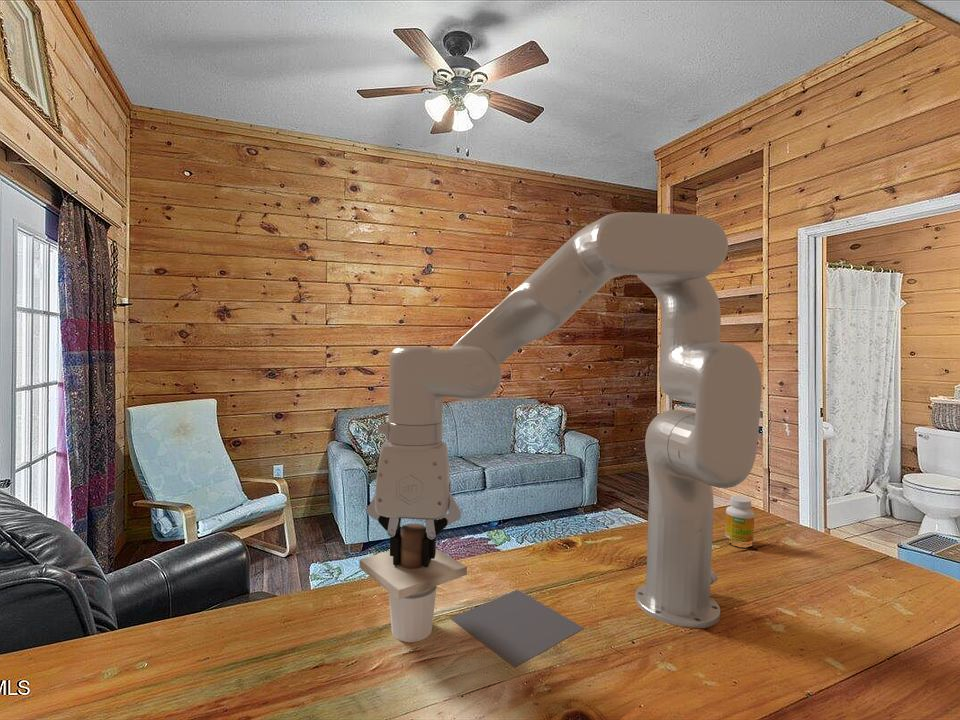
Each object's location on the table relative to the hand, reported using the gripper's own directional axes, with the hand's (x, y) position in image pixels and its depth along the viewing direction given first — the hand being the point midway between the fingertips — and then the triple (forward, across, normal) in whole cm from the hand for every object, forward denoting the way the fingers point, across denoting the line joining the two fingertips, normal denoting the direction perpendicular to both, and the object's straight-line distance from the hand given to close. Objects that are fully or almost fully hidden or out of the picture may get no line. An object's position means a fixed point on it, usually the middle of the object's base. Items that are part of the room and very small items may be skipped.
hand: (412, 560), depth 70 cm
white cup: (+11, 0, 0) cm, 11 cm away
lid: (+2, 0, 0) cm, 2 cm away
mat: (+10, +15, +4) cm, 19 cm away
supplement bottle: (+11, +62, +40) cm, 74 cm away
